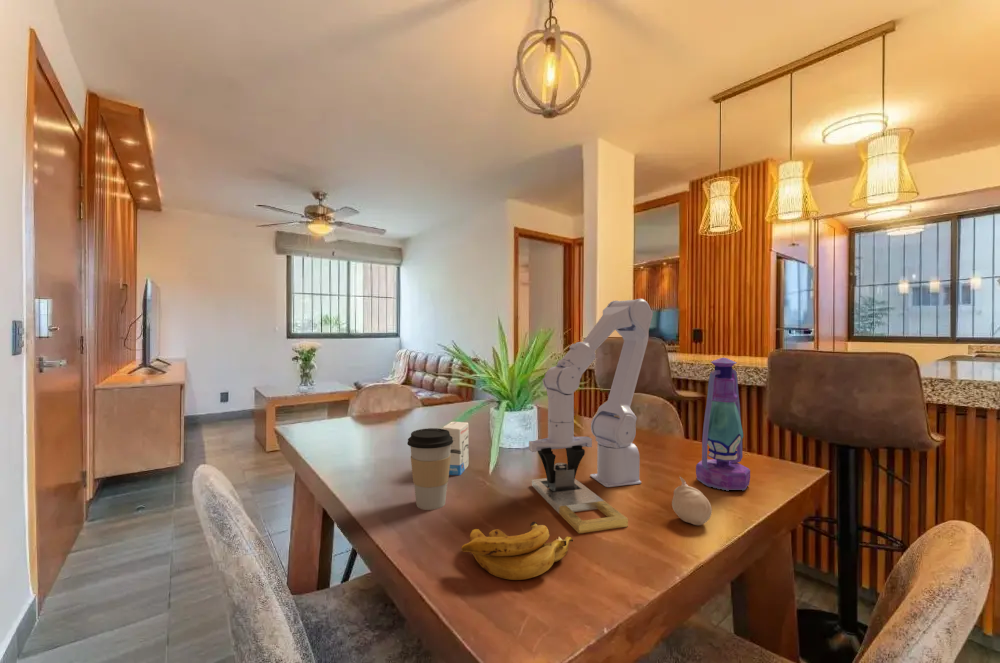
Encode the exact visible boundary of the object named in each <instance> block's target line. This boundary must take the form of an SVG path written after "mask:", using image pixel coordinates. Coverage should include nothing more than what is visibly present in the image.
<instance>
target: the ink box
mask: <svg viewBox="0 0 1000 663" xmlns="http://www.w3.org/2000/svg"><path fill="white" fill-rule="evenodd" d="M442 429H445V430H448V431H449V433H450V436H452V438H453V439H452V440H453V443H452V444H451V451H450V454H451V458H450V468H449V476H461V475H462V474H463V473H464V472H465V471H466V469H467V468H468V467H469V464H470V463H469V461H470V460H469V459H470V458H469V429H470V428H469V422H465V421H464V422H463V421H451V422H448V423H447V424H446V425H444V426H443V427H442Z"/></svg>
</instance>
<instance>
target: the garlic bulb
mask: <svg viewBox="0 0 1000 663" xmlns="http://www.w3.org/2000/svg"><path fill="white" fill-rule="evenodd" d="M679 480H680V481H681V485H678V486H677V487H676V488H674V490H673V497H672V501H671V506H672V509H673V511H674V513H675V514H676V515H677V516H678V518H680V520H682V521H683V522H685V523H689V524H692V525H693V526H702V525H704V524H705V523H706V522H708V521H709V519H710V518H711V516H712V513H713V512H712V511H713V510H712V505H711V502H710V501H709V499H708V498H707V497H706V496H705V495H704V493H703V492H702V491H701V490H699V489H697V488H696V487H693V486H689V485H688V483H687V482H686V480H685V479H684V478H683V477H682V476H681V475H679Z"/></svg>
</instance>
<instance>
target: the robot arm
mask: <svg viewBox="0 0 1000 663" xmlns="http://www.w3.org/2000/svg"><path fill="white" fill-rule="evenodd" d="M653 316H654V313H653V311H652V309H651V307H650V304H649V303H648V301H646V299H644V298H636V299H627V300H612V301H610V302H609V303H607V306H606V307H605V308H604V309H603V310H602V315H601V317H600V318H599V319H598V321H597V322H596V323H595V325H594V326H593V328H592V329H591V330H590V331H589V333H588V335H587V336H586V337H585V339H584V340H583V341H578V342H577V341H576V342H575V343H572V344H571V345H570V346H569V347H568V348H569V350H568V351H567V353H566V354H564V355H563V357H562V358H561V359H559V360H558V361H557V364H556V365H555V366H551V367H550V368H549V369H547V371H546V372H545V374H544V377H543V378H542V385H543V387H544V388H545V390H546V396H547V437H544V438H542V439H541V438H539V439H535V440H529V441H528V450H529V451H530V452H531V453H536V452H537V453H538V455H539V457H540V459H541V462H542V465H543V467H544V470H545V471H544V472H545V474H546V478H547V481H548V482H549V483H553V482H554V464H555V463H556V462H555V461H556V454H554V452H553V450H559V449H560V450H561V449H565V453H566V460H567V461H566V462H567V464H568V465H569V466H570V467H572V468H573V469H574V480H575V479H576V476H577V475H576V474H577V471H578V469H579V466H580V463H581V461H582V459H583V457H584V456H585V454H586V451H585V449H584V448H585V447H587V448H592V446H593V438H592V437H589V436H575V433H574V430H575V428H574V427H575V426H574V425H575V424H574V423H575V421H574V420H575V419H574V418H575V417H574V416H575V408H574V406H575V401H574V400H575V396H574V393H575V392H576V391H577V390H578V389H579V387H580V384H581V379H582V376H583V374H584V373H585V372H586V371H587V369H588V368H589V367H590V365H592V364H593V362H594V361H595V360H596V351H597V350H598V349H599V347H601V345H602V344H603V343H604V342H605V341H606V340H608V338H609V337H610V336H611V335H612V333H613V332H615V331H616V332H617V333H618V334H619V336H621V337H622V339H623V344H622V347H621V351H620V355H619V359H618V362H617V365H616V370H615V373H614V377H613V381H612V384H611V388H610V392H609V394H608V398H607V401H605V402H604V403H602V404H601V405H600V406H599V407H598V408H597V411H596V412H597V413H595V415H594V416H593V417H592V420H591V423H590V431H591V433H592V435H593V436H594V437H595V442H597V445H596V446H597V450H596V451H597V452H596V453H597V458H596V459H597V460H596V461H597V464H596V465H597V466H596V468H597V469H596V470H597V473H591V474H589V475H590V478H592V479H594V480H595V481H596V482H597V483H600V485H602V486H604V487H605V488H613V487H621V486H630V485H639V484H642V480H640V464H641V462H640V459H641V458H640V452H639V449H638V446H636V444H635V443H633V442H634V440H635V438H636V433H637V432H636V430H637V429H636V422H637V419H638V417H637V416H636V415H635V412H633V410H632V409H631V407H632V406H631V405H632V402H633V399H634V398H633V397H634V394H635V390H636V387H637V383H638V379H639V376H640V372H641V368H642V364H643V361H644V357H645V354H646V350H647V346H648V341H649V333H650V332H649V331H650V327H651V323H652V320H653Z"/></svg>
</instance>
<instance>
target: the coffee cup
mask: <svg viewBox="0 0 1000 663" xmlns="http://www.w3.org/2000/svg"><path fill="white" fill-rule="evenodd" d="M452 439H453V438H452V436H450V433H449V431H448V430H445V429H443V428H437V427H436V428H435V427H434V428H432V427H430V428H420V429H417V430H414V431H411V433H410V437H409V438H407V445H408V446H409V447H410V462H411V474H412V483H413V487H414V497H415V506H416V507H417V508H418V509H420V510H423V511H434V510H438V509H440V508H443V507H444V506H446V498H447V489H448V482H449V476H450V475H449V468H450V458H451V454H450V451H451V444H452V443H453V440H452Z"/></svg>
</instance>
